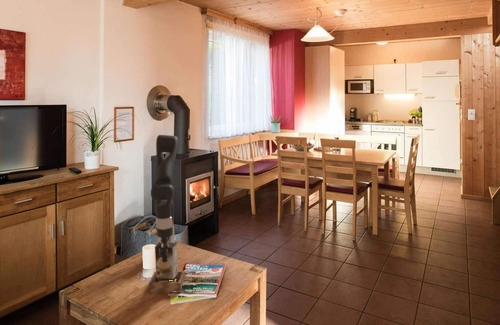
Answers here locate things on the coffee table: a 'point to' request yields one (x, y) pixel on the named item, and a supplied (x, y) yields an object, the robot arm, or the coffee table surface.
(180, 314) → the coffee table surface
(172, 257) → the coffee box
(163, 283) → the walnut box
